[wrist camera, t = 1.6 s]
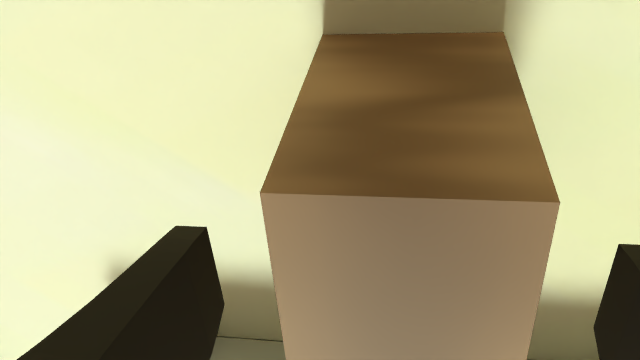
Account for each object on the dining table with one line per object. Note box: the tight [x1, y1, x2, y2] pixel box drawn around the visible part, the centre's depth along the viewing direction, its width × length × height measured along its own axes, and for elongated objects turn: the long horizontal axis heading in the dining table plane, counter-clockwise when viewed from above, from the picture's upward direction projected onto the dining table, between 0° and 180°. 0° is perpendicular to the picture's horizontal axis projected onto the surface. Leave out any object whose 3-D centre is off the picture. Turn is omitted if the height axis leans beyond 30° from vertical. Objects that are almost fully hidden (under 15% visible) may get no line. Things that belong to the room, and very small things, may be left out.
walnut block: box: [260, 32, 560, 360], centre depth 13 cm, size 4×4×7 cm
